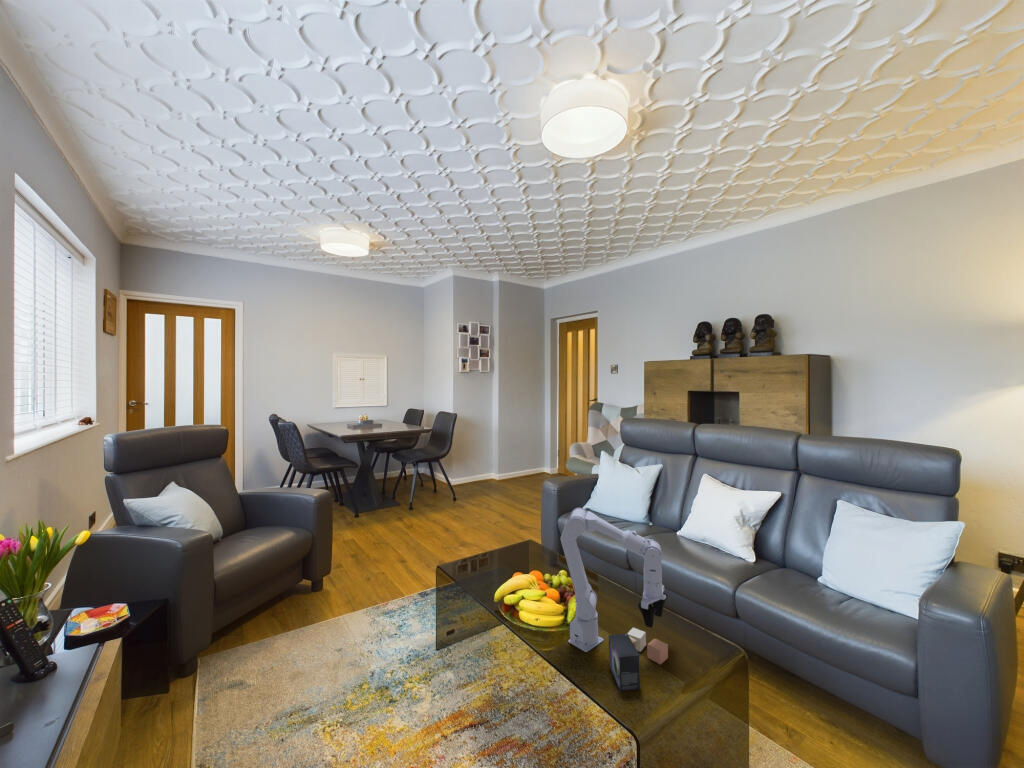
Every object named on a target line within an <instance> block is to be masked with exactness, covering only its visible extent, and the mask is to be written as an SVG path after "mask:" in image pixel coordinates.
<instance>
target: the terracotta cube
mask: <svg viewBox="0 0 1024 768" xmlns="http://www.w3.org/2000/svg"><path fill="white" fill-rule="evenodd" d="M646 646H647V649H646V651H647V652H646V653H647V659H649V660H651V661H653V662H655V663H657V664H658V665H662V664H663V663H664V662H665V661H667V659H669V646H668V643H666V642H663V641H661V640H659V639H658V638H654V639H652V640H651V641H649V642H648V643H646Z"/></svg>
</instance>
